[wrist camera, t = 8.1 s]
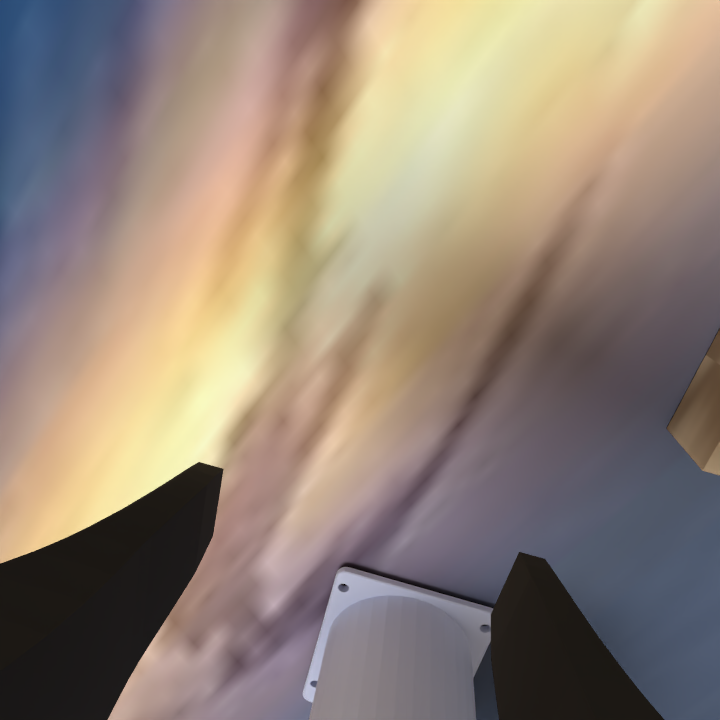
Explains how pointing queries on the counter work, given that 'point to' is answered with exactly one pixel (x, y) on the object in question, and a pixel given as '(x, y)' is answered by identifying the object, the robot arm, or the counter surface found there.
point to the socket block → (701, 414)
